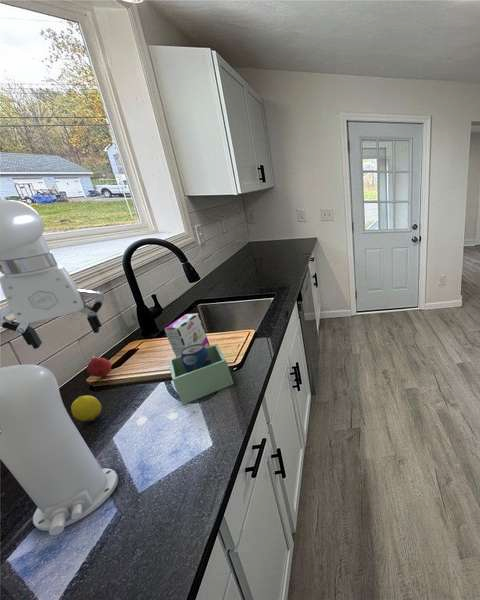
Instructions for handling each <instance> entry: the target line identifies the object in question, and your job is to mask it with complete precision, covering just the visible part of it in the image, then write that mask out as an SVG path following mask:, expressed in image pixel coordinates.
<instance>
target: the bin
mask: <svg viewBox="0 0 480 600" xmlns="http://www.w3.org/2000/svg"><path fill="white" fill-rule="evenodd" d="M206 349H207V351H208V354H209V356H210V359H211V362H212V364H211V365H208V366H205V367H203V368H200V369H197V370H194V371H192V372H189V373H186V370H185V368H184V365H183V362H182V360H181V356H179V357H176V356H175V357H172V358H169V359H167V360H168V366H169V369H170V374H171V375H170V376H171V379H172V382H173V384H174V387H175V390H176V392H177V394H178V396H179V399H180V401H181V403H182V405H183V406H184V405H187V404H188V403H191V402H193V401H196V400H198V399H201V398H203V397H206V396H208V395H211V394H213V393H215V392H218V391H220V390H223V389H226V388H227V387H230V386H233V385H234V384H235V383H234V381H233V378H232V375H231V371H230V368H229V365H228V362H227V359H226V357H225V356H224V354H223V351H222V350H221V349H220V346H219V344H218V343H215V344H212V345H210V346H209V347H206Z"/></svg>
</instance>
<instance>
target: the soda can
mask: <svg viewBox="0 0 480 600" xmlns="http://www.w3.org/2000/svg"><path fill="white" fill-rule="evenodd" d="M181 353H182V355H181V360H182V362H183V365H184V368H185V370H186V373H189V372H192V371H194V370H197V369H200V368H203V367H205V366H208V365H211V364H212V362H211V359H210V356H209V354H208V351H207V349H206V348H205V347H204V346H203V345H202V344H195V345H191V346H188V347H186V348H184V349H183V350H182V351H181Z"/></svg>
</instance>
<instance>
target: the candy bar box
mask: <svg viewBox="0 0 480 600" xmlns="http://www.w3.org/2000/svg"><path fill="white" fill-rule="evenodd" d="M163 330H164V333H165V336H166V337H167V339H168V342H169V344H170V347H171V349H172V351H173V354H174V356H175V358H176V357H179V356H181V355H182V353H181V351H182V350H183V349H184V348H186V347H188V346H191V345H195V344H202V345H203V346H204V347H205V348H206V347H209V346H211V344H210V342H209V339H208V336H207V334H206V331H205V329H204V326H203V323H202V320H201V317H200V315H199V313H197V312H196V313H186V314H184V315H182V316H181V317H179V318H178V319H176V320H175V321H173V322H172V323H170V324H169V325H168V326H166V327H164V329H163Z"/></svg>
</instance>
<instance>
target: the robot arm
mask: <svg viewBox="0 0 480 600" xmlns="http://www.w3.org/2000/svg"><path fill="white" fill-rule="evenodd" d="M43 233H44V221H43V220H42V217H41V216H40V214H39V213H38V212H37V211H36V210H35V209H34V208H33V207H32V206H30V205H28V204H26V203H24V202H23V201H19V200H15V199H14V200H13V199H0V273H1V274H2V275H1V276H0V287H1V290H2V293H3V295H4V298H5V301H6V302H7V305H6V306H4V307H2V308H1V309H0V326H1V327H2V328H3V329H6V330H10V331H13V332H16V333H17V334H21V337H23V339H24V341H25V343H26V344H27V345H28V346H31V347H32V348H33V349H34V350H37V349H39V348H40V347H41V345H42V344H43V341H42V340H41V338H40V336H39V335H38V333H37V331H36V330H35V328H34V327H31V326H30V325H31V324H34V323H38V322H42V321H46V320H52V319H55V318H59V317H64V316H69V315H74V314H76V313H81V314H83V315H86V316H87V317H86V320H87V321H88V324H89V326H90V327H91V330H92V332H93V333H94V334H97V333H99V332H100V329H101V328H102V327H103V326H102V322H101V320H100V319H99V316H98V314H97V313H98V312H99V311H100V309H101V308H102V306H103V303H104V298H105V293H104V292H100V291H94V290H87V289H80V288H79V287H78V285H77V283H76V281H75V280H74V279H73V277H72V276H71V275H70V273H69V272H68V270H67V269H66V268H65V267H64V266H63V265H58V263H57V261H56V259H55V257H54V255H53V253H52V251H51V249H50V246H49V245H48V243H47V241H46V239H45V236H44V234H43ZM85 298H90V299H91V298H92V299H95V302H94V303H93V305H92V306H91V305H88V304H86V299H85ZM10 313H12V315H13V317H14V318H15V320H16V321H15V320H11V319H10V320H9V319H8V318H7V315H9V314H10ZM0 461H1V462H2V463H3V464H4V466H5V467H6V468H7V469H8V471H9V472H10V473H11V474H12V475H13V477H14V479H15V480H16V481H17V482H18V483H19V485H20V486H21V488H22V489H23V490H24V491H25V493H26V494H27V495H28V496H29V498H30V499H31V500H32V501H33V503H34V505H35V506H36V507H37V508H36V510H35V512H34V513H33V516H32V523H33V525H34V526H35V528H37V529H38V530H39V531H43V532H44V531H45V532H48V535H49V536H58V535H60V534H61V533H63V532H64V530H65V527H68V526H71V525H72V524H75V523H77V522H78V521H81V520H82V519H84V518H85V517H87V516H89V515H90V514H91V513H93V512H94V511H96V510H97V509H98V508H99V507H100V506H101V505H103V504H104V503H105V502H106V501H107V499H109V498H110V497H111V495H112V494H113V492H114V491H115V489H116V488H117V487H118V483H119V476H118V474H117V472H116V470H115V469H111V468H107V467H106V468H102V467H101V466H100V464H99V462H98V461H97V459H96V458H95V456H94V454H93V453H92V451H91V449H90V448H89V446H88V444H87V443H86V441H85V440H84V437H82V434H81V432H79V429H78V428H77V426H76V425H75V423H74V421H73V420H72V418H71V416H70V415H69V413H68V411H67V409H66V407H65V404H64V402H63V399H62V396H61V392H60V388H59V383H58V381H57V378H56V376H55V375H54V373H53V372H52V371H51V370H50V369H48V368H47V367H45V366H42V365H37V364H15V365H7V366H1V367H0Z"/></svg>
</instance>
